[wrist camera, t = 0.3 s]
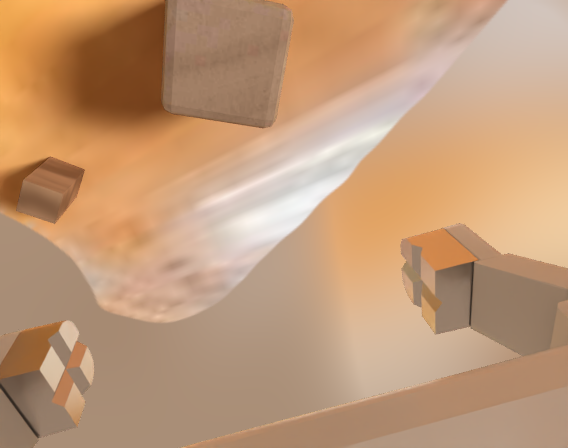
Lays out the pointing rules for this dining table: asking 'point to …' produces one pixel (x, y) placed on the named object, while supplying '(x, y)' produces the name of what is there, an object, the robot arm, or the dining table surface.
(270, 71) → the block
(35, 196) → the walnut block
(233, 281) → the dining table surface
